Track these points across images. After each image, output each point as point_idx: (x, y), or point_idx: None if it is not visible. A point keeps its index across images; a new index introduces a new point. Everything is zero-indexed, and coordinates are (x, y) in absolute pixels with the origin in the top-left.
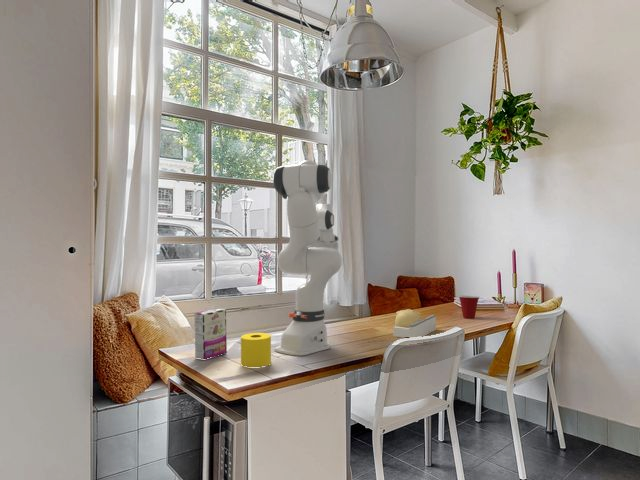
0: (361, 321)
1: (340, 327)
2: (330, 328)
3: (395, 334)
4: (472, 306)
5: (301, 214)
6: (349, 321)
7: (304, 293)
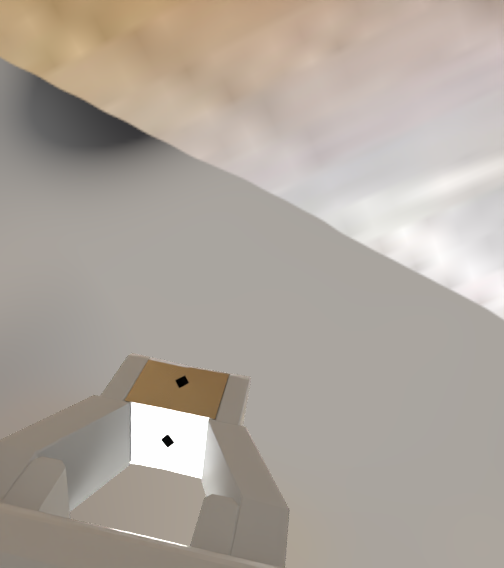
0: (24, 3)
1: (252, 60)
2: (304, 108)
3: None
4: None
5: None
6: (69, 82)
7: None
